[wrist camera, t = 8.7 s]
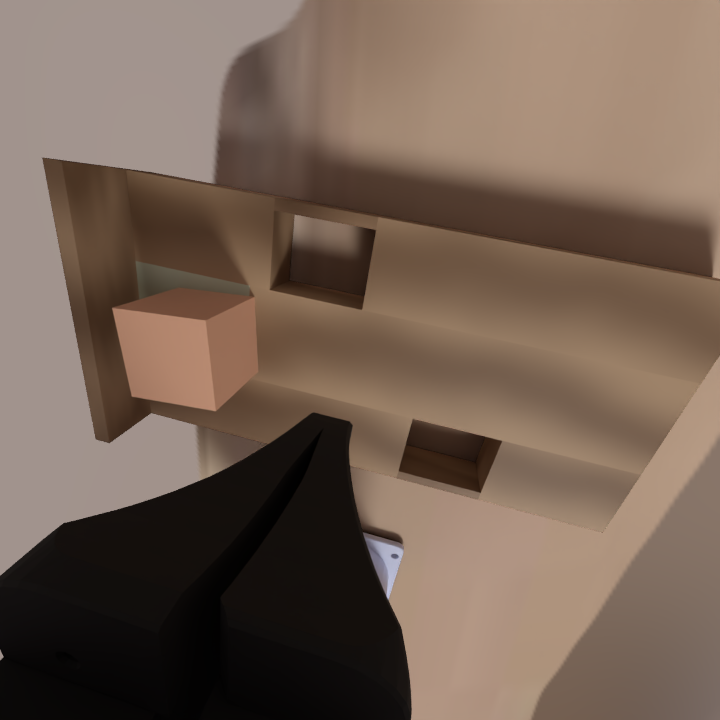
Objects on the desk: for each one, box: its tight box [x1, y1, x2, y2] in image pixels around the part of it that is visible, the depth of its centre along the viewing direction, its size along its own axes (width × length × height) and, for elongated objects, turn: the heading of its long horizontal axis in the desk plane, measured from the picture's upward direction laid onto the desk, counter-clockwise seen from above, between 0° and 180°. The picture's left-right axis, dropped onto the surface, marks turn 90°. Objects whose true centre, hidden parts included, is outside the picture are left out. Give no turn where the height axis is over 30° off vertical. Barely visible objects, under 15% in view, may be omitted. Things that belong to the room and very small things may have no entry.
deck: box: [43, 158, 720, 533], centre depth 17 cm, size 13×27×6 cm, turn 80°
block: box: [112, 288, 258, 411], centre depth 16 cm, size 4×4×4 cm
